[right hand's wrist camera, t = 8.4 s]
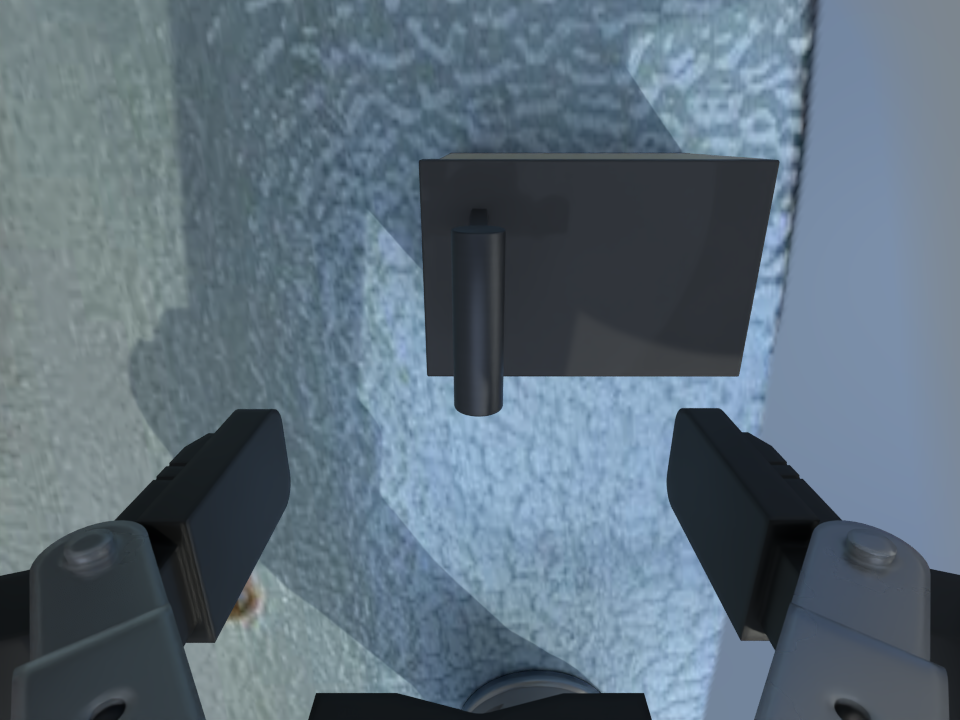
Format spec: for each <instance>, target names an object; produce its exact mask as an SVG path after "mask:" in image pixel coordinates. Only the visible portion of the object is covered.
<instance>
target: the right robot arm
mask: <svg viewBox="0 0 960 720" xmlns="http://www.w3.org/2000/svg"><path fill="white" fill-rule="evenodd" d="M667 493H668V498H669V502H670V505H671V507H672V509H673V511H674V513H675V515H676V517H677V519H678V521H679V523H680V524H681V526H682V528H683V530H684V532H685V534H686V536H687V538H688V540H689V542H690V544H691V546H692V548H693V549H694V551H695V553H696V555H697V557H698V559H699V561H700V563H701V565H702V567H703V569H704V571H705V573H706V575H707V576H708V578H709V580H710V582H711V584H712V586H713V588H714V590H715V592H716V594H717V596H718V598H719V600H720V601H721V603H722V605H723V607H724V609H725V611H726V613H727V615H728V617H729V619H730V621H731V623H732V625H733V626H734V628H735V630H736V632H737V634H738V636H739V638H740V640H741V641H770V642H771V644H772V646H773V648H774V649H775V654H774V657H773V660H772V663H771V667H770V670H769V673H768V676H767V680H766V683H765V686H764V689H763V693H762V696H761V699H760V702H759V706H758V709H757V712H756V716H755V719H754V720H960V575H957V574H952V573H947V572H942V571H937V570H933V569H930V568H929V566H928V564H927V562H926V561H925V559H924V558H923V557H922V556H921V555H920V554H919V553H918V552H917V551H916V550H915V549H914V548H913V547H911V546H910V545H909V544H907V543H906V542H904V541H903V540H901V539H899V538H898V537H896V536H894V535H892V534H890V533H888V532H886V531H883V530H881V529H878V528H875V527H873V526H869V525H866V524H862V523H858V522H852V521H842V520H841V519H840V518H839V517H838V516H837V515H836V514H835V512H834V511H833V510H832V509H831V508H830V507H829V506H828V505H827V504H826V503H825V502H824V501H823V500H822V499H821V498H820V497H819V496H818V494H817V493H816V492H815V491H814V490H813V489H812V488H811V487H810V486H809V485H808V484H807V483H806V482H805V481H804V480H803V479H800V478H799V474H798V473H797V472H796V471H795V470H794V469H793V468H792V467H791V466H790V465H787V462H786V461H785V460H784V459H783V458H782V456H781V455H780V454H779V453H778V452H777V451H776V450H775V449H774V448H773V447H772V446H771V445H769V444H767V443H765V442H764V441H762V440H760V439H759V438H757V437H755V436H753V435H752V434H750V433H748V432H741V431H740V430H739V428H738V427H737V426H736V425H735V424H734V423H733V422H732V421H731V420H730V418H729V417H728V416H727V415H726V414H725V413H724V412H723V411H722V410H721V409H719V408H682V409H680V410H679V411H678V413H677V415H676V418H675V424H674V431H673V438H672V444H671V451H670V458H669V465H668V471H667ZM289 495H290V471H289V465H288V458H287V451H286V445H285V438H284V432H283V425H282V419H281V416H280V414H279V412H278V411H277V410H276V409H237V410H235V411H234V412H233V413H232V414H231V415H230V417H229V418H228V419H227V420H226V421H225V422H224V423H223V424H222V425H221V427H220V428H219V429H218V430H217V431H216V432H215V433H208V434H207V435H205V436H203V437H201V438H200V439H198V440H196V441H194V442H193V443H191V444H189V445H188V446H186V447H184V448H183V449H182V450H181V452H180V453H179V454H178V455H177V456H176V457H175V458H174V459H173V460H172V461H171V462H170V463H169V466H166V467H165V468H164V469H163V470H162V471H161V472H160V473H159V475H158V476H157V479H156V480H153V481H152V482H151V483H150V484H149V485H148V486H147V487H146V488H145V489H144V490H143V491H142V492H141V493H140V494H139V495H138V496H137V498H136V499H135V500H134V501H133V502H132V503H131V504H130V505H129V506H128V507H127V508H126V509H125V510H124V511H123V512H122V513H121V514H120V515H119V516H118V517H117V518H116V519H115V521H108V522H102V523H98V524H94V525H91V526H87V527H84V528H82V529H79V530H77V531H74V532H72V533H70V534H68V535H66V536H64V537H62V538H61V539H59V540H57V541H56V542H54V543H53V544H51V545H50V546H49V547H47V548H46V549H45V550H44V551H43V552H42V553H41V554H40V555H39V556H38V557H37V558H36V559H35V561H34V562H33V564H32V566H31V568H30V570H26V571H22V572H17V573H12V574H7V575H2V576H0V720H206V719H205V715H204V712H203V709H202V706H201V702H200V699H199V696H198V693H197V689H196V686H195V683H194V680H193V676H192V673H191V670H190V667H189V663H188V660H187V657H186V654H185V650H184V645H185V643H215V641H216V640H217V638H218V636H219V634H220V632H221V630H222V628H223V626H224V624H225V622H226V621H227V619H228V617H229V615H230V613H231V611H232V609H233V607H234V605H235V603H236V602H237V600H238V598H239V596H240V594H241V592H242V590H243V588H244V586H245V584H246V583H247V581H248V579H249V577H250V575H251V573H252V571H253V569H254V567H255V565H256V564H257V562H258V560H259V558H260V556H261V554H262V552H263V550H264V548H265V546H266V544H267V543H268V541H269V539H270V537H271V535H272V533H273V531H274V529H275V527H276V525H277V524H278V522H279V520H280V518H281V516H282V514H283V512H284V510H285V508H286V506H287V503H288V500H289ZM308 720H652V719H651V716H650V712H649V709H648V705H647V702H646V699H645V695H644V693H562V694H558V695H554V696H550V697H546V698H543V699H539V700H535V701H531V702H527V703H523V704H520V705H516V706H512V707H508V708H504V709H500V710H496V711H493V712H488V713H472V712H467V711H464V710H460V709H456V708H452V707H448V706H444V705H440V704H437V703H433V702H429V701H425V700H421V699H417V698H414V697H410V696H406V695H402V694H398V693H316V695H315V699H314V702H313V705H312V709H311V712H310V716H309V719H308Z"/></svg>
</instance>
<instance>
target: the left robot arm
mask: <svg viewBox="0 0 960 720" xmlns="http://www.w3.org/2000/svg"><path fill="white" fill-rule="evenodd" d="M562 693H600V692H599V691H598V690H596V689H595V688H594V687H593V686H591V685H590V684H588V683H586V682H585V681H583V680H581V679H578V678H576V677H573V676H570V675H567V674H563V673H558V672H552V671H525V672H518V673H513V674H509V675H506V676H503V677H500V678H498V679H495V680H493V681H491V682H489V683H487V684H485V685H484V686H482V687H481V688H480V689H478V690H477V691H476V692H475V693H474V694H473V695H471V697H470V698H469V699H468V700H467V701H466V703H465V704H464V706H463V708H462V710H464V711H467V712H472V713H488V712H493V711H496V710H500V709H504V708H508V707H512V706H516V705H520V704H523V703H527V702H531V701H535V700H539V699H543V698H546V697H550V696H554V695H558V694H562Z"/></svg>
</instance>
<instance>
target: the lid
mask: <svg viewBox="0 0 960 720" xmlns="http://www.w3.org/2000/svg"><path fill="white" fill-rule="evenodd" d="M778 167H779V160H771V159H422V160H420V161H419V178H420V204H421V230H422V256H423V281H424V307H425V333H426V359H427V375H428V376H454V406H455V408H456V410H457V411H459V412H460V413H462V414H465V415H469V416H488V415H492V414H495V413H497V412H499V411H500V410H501V409H502V406H503V376H739V372H740V367H741V362H742V357H743V351H744V346H745V341H746V336H747V330H748V325H749V320H750V315H751V309H752V304H753V299H754V293H755V288H756V283H757V278H758V272H759V267H760V262H761V257H762V251H763V246H764V241H765V236H766V230H767V225H768V220H769V215H770V209H771V204H772V199H773V193H774V188H775V183H776V178H777V172H778Z"/></svg>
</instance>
